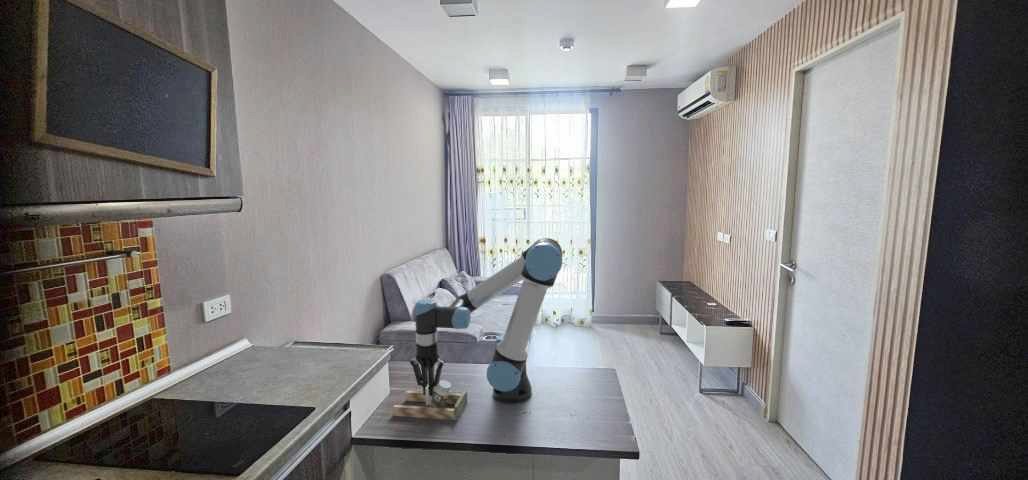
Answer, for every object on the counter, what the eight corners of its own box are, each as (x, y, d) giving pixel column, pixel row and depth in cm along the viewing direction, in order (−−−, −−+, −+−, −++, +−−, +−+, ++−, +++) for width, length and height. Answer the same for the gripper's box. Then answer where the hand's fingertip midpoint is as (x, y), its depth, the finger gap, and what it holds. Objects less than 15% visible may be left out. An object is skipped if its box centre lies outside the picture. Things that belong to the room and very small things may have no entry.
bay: (467, 402, 151) (466, 390, 150) (458, 420, 139) (457, 406, 139) (407, 399, 155) (406, 387, 154) (393, 415, 144) (392, 402, 143)
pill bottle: (440, 414, 143) (448, 391, 141) (426, 407, 144) (434, 384, 142) (447, 406, 149) (455, 384, 147) (433, 399, 150) (441, 377, 148)
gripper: (447, 339, 146) (448, 399, 150) (414, 337, 149) (416, 396, 152) (440, 347, 139) (441, 410, 142) (405, 345, 141) (408, 406, 145)
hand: (428, 402), depth 147 cm, fingers closed
